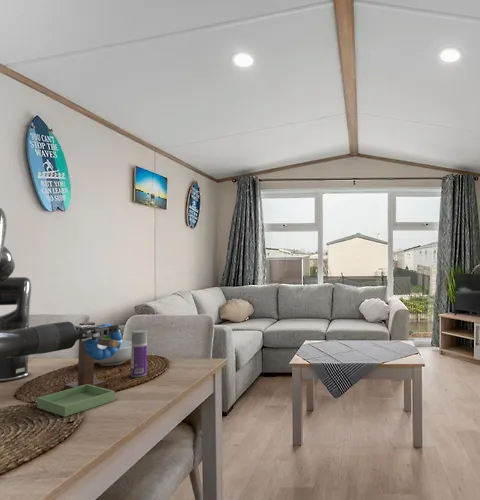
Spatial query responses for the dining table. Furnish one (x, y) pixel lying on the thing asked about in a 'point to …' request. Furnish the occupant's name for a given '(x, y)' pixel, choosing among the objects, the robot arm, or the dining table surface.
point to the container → (139, 353)
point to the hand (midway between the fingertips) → (113, 327)
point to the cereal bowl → (117, 354)
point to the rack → (89, 364)
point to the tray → (75, 399)
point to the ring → (102, 353)
